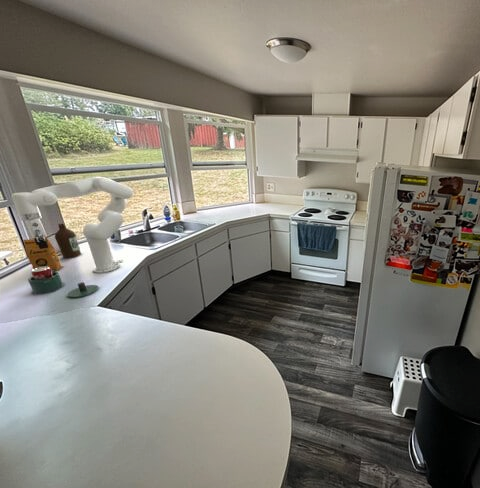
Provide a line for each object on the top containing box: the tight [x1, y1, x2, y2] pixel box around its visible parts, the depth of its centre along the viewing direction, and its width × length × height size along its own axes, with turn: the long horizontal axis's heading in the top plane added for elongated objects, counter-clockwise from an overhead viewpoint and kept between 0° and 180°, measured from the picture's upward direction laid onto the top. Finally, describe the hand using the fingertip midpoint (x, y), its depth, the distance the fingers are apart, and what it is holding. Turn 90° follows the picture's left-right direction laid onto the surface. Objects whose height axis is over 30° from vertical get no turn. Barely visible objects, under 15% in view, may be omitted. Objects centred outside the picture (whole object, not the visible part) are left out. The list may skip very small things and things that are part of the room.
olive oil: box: [54, 222, 82, 259], centre depth 181 cm, size 11×11×25 cm
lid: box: [67, 281, 99, 298], centre depth 139 cm, size 13×13×6 cm
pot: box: [27, 271, 64, 295], centre depth 141 cm, size 12×17×8 cm
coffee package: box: [23, 237, 63, 272], centre depth 160 cm, size 10×12×22 cm
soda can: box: [30, 266, 53, 281], centre depth 140 cm, size 7×7×12 cm
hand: (42, 246), depth 138 cm, fingers open, 9 cm apart
